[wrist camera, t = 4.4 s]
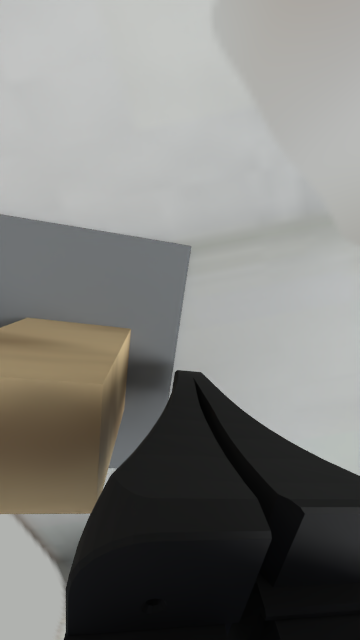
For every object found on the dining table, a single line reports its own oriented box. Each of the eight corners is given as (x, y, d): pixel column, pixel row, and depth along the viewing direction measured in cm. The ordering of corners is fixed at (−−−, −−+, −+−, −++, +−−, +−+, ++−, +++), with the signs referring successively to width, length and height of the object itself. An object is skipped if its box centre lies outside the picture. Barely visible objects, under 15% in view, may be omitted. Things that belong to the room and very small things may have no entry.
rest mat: (157, 463, 13) (157, 469, 13) (-41, 458, 12) (-47, 464, 11) (190, 246, 10) (191, 246, 9) (-86, 201, 8) (-98, 197, 8)
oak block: (124, 409, 11) (95, 513, 7) (32, 403, 11) (-73, 514, 6) (130, 328, 10) (102, 384, 5) (27, 317, 10) (-111, 368, 5)
